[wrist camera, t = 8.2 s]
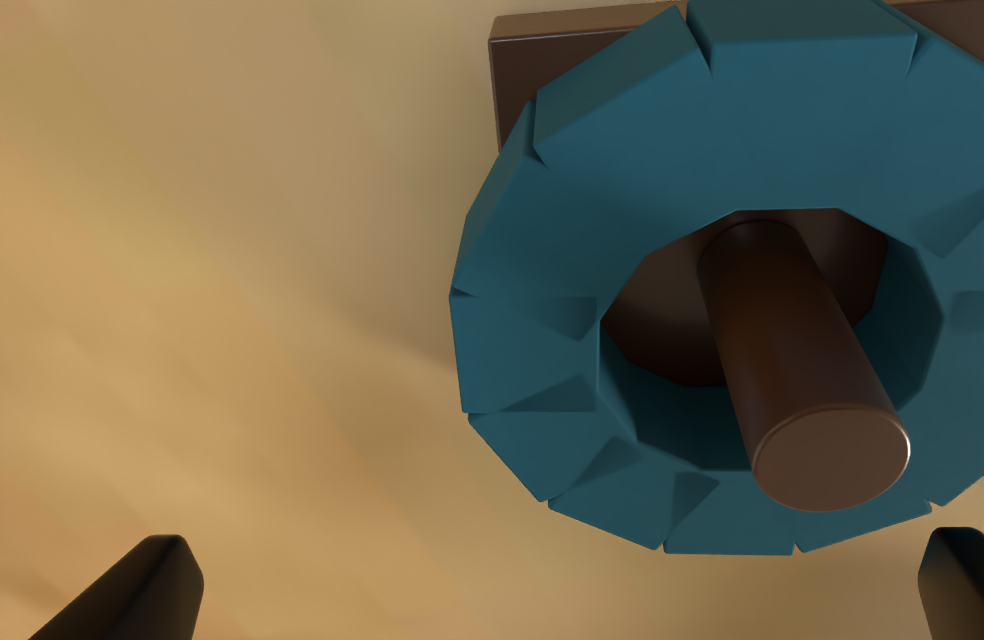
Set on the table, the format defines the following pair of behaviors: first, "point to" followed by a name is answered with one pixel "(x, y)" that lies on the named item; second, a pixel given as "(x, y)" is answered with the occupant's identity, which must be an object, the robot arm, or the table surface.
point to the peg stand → (750, 288)
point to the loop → (696, 203)
